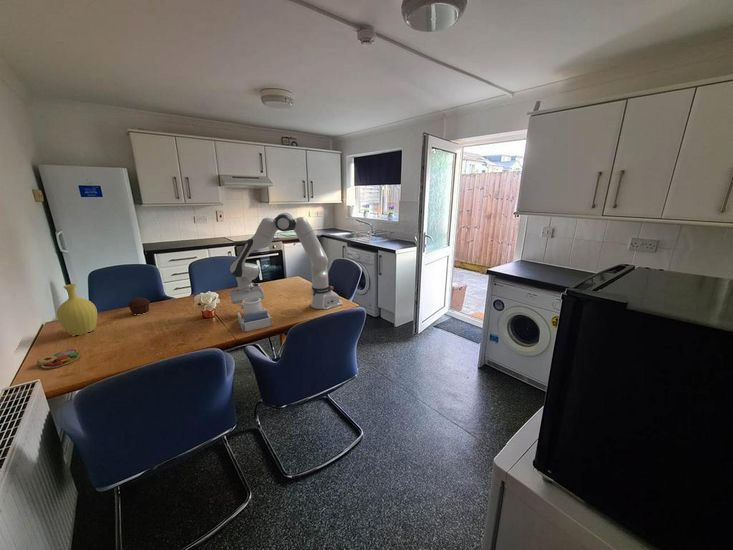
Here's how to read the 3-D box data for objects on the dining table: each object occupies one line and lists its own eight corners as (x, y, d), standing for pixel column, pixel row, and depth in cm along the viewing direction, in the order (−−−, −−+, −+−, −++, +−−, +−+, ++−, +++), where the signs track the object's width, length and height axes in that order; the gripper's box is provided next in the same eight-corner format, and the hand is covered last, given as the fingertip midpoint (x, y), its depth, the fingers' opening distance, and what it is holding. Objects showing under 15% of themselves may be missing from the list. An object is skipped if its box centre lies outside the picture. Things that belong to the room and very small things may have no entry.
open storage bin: (265, 314, 191) (264, 307, 189) (272, 325, 175) (271, 318, 174) (238, 320, 183) (237, 312, 181) (243, 332, 167) (242, 324, 166)
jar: (259, 326, 174) (257, 303, 170) (242, 326, 174) (239, 303, 170) (265, 319, 184) (263, 296, 180) (249, 319, 184) (246, 296, 180)
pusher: (267, 322, 178) (266, 310, 176) (268, 323, 177) (267, 311, 175) (244, 327, 172) (243, 314, 170) (245, 328, 170) (243, 316, 168)
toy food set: (34, 366, 135) (32, 360, 134) (70, 352, 146) (69, 346, 146) (51, 372, 130) (48, 366, 129) (87, 357, 142) (85, 351, 141)
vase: (71, 328, 171) (57, 282, 164) (106, 323, 177) (94, 279, 170) (56, 340, 157) (41, 291, 149) (94, 335, 163) (81, 287, 155)
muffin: (130, 317, 186) (126, 303, 183) (128, 312, 194) (125, 298, 191) (152, 313, 193) (149, 298, 191) (150, 308, 201) (147, 294, 199)
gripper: (228, 288, 184) (232, 307, 179) (262, 283, 195) (266, 301, 189) (228, 293, 189) (232, 312, 184) (261, 288, 200) (265, 306, 194)
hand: (250, 306), depth 187 cm, fingers open, 8 cm apart
